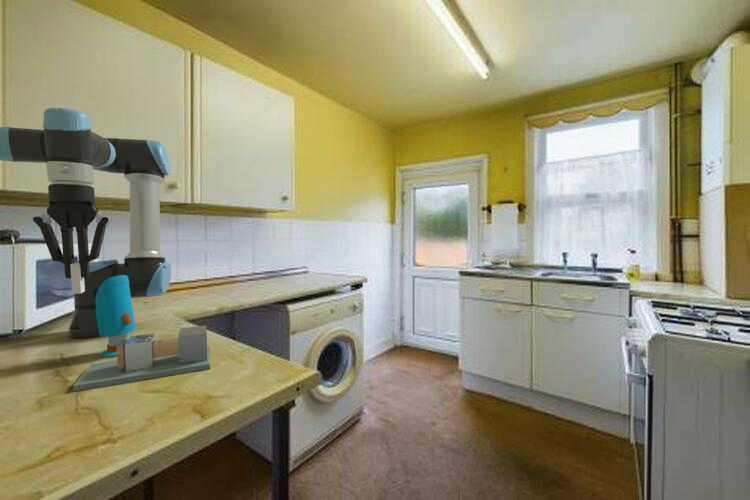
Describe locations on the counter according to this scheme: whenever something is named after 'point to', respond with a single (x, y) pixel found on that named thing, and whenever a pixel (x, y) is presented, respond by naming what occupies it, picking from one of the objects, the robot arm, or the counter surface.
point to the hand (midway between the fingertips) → (78, 292)
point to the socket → (192, 344)
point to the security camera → (114, 312)
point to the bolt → (158, 350)
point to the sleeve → (139, 352)
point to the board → (135, 372)
